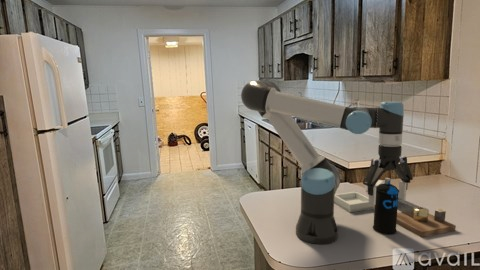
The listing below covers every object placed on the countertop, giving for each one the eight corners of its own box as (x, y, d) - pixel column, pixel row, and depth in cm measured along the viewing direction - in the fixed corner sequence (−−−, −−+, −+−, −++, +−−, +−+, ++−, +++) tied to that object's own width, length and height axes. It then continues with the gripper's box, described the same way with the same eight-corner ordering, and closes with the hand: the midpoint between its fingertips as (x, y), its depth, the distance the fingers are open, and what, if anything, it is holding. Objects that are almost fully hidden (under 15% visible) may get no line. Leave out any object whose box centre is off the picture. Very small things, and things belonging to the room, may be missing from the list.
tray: (349, 212, 132) (349, 204, 131) (332, 201, 144) (332, 194, 143) (374, 208, 135) (375, 201, 135) (355, 198, 148) (355, 191, 147)
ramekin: (390, 196, 150) (391, 186, 149) (366, 195, 152) (367, 185, 151) (384, 188, 161) (384, 179, 160) (361, 188, 163) (362, 178, 162)
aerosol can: (367, 226, 118) (370, 176, 115) (384, 223, 121) (387, 174, 118) (384, 236, 111) (388, 183, 107) (401, 232, 113) (405, 180, 110)
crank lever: (431, 220, 117) (432, 210, 117) (421, 222, 116) (421, 212, 115) (398, 205, 133) (399, 196, 132) (389, 207, 131) (389, 198, 131)
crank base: (421, 237, 110) (422, 221, 109) (387, 219, 125) (388, 204, 124) (455, 230, 114) (456, 214, 113) (418, 213, 129) (420, 199, 128)
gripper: (368, 149, 104) (365, 209, 107) (426, 143, 111) (422, 200, 114) (353, 145, 111) (352, 201, 114) (409, 140, 118) (406, 193, 121)
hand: (387, 201), depth 114 cm, fingers open, 13 cm apart
